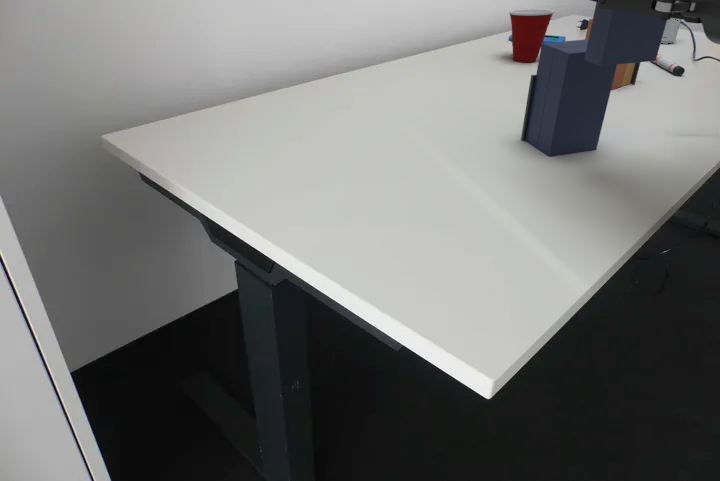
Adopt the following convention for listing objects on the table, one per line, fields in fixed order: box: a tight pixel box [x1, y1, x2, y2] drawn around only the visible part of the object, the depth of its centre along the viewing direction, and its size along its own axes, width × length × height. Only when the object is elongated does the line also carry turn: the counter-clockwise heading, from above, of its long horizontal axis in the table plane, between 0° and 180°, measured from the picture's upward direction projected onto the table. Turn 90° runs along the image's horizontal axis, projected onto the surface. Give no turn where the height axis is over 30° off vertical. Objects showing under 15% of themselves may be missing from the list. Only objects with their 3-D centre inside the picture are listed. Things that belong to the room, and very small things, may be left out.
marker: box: [651, 54, 686, 77], centre depth 130 cm, size 15×2×2 cm, turn 0°
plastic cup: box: [508, 8, 555, 64], centre depth 134 cm, size 11×11×12 cm
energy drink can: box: [661, 18, 682, 45], centre depth 148 cm, size 6×6×15 cm
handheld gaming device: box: [508, 33, 567, 43], centre depth 155 cm, size 8×1×15 cm
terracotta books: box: [584, 17, 642, 91], centre depth 117 cm, size 8×10×13 cm
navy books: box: [520, 39, 617, 157], centre depth 86 cm, size 8×10×16 cm
